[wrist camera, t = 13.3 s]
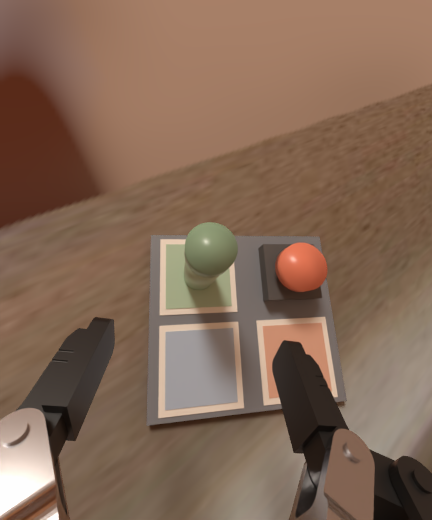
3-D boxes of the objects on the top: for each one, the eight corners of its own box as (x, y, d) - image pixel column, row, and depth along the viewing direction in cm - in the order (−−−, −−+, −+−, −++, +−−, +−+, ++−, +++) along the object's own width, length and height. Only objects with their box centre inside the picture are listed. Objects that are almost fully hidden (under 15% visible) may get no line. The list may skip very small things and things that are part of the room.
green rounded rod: (182, 291, 23) (185, 274, 14) (182, 259, 24) (184, 221, 14) (215, 290, 24) (239, 273, 14) (213, 259, 24) (236, 222, 15)
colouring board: (147, 421, 21) (143, 434, 18) (152, 237, 25) (149, 229, 23) (341, 398, 24) (358, 406, 22) (315, 238, 28) (327, 232, 26)
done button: (272, 294, 23) (284, 291, 21) (267, 250, 25) (278, 242, 22) (314, 292, 24) (330, 289, 22) (307, 250, 25) (322, 242, 23)
